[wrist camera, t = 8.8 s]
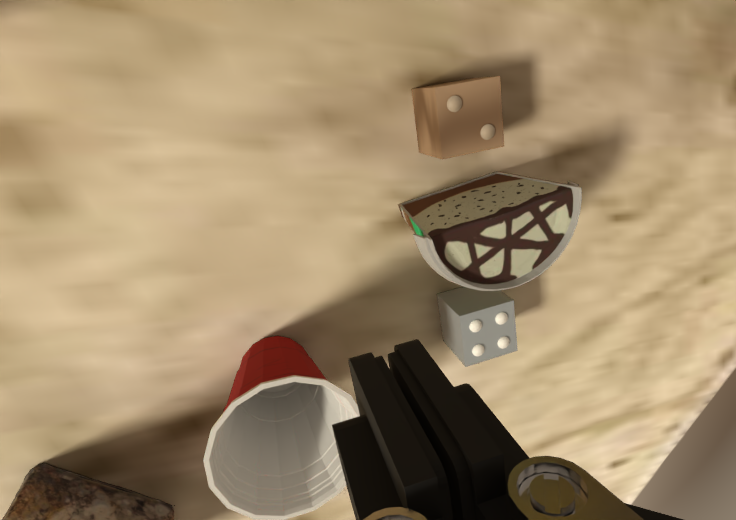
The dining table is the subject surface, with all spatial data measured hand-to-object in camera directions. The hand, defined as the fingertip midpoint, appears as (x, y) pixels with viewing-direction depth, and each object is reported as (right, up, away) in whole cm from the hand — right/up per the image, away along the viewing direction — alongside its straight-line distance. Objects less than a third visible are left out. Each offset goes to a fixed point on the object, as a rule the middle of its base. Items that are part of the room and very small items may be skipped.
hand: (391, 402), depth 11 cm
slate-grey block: (+9, -1, +35) cm, 36 cm away
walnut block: (+6, +15, +28) cm, 33 cm away
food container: (+7, +7, +32) cm, 33 cm away
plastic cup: (-9, -6, +32) cm, 33 cm away
